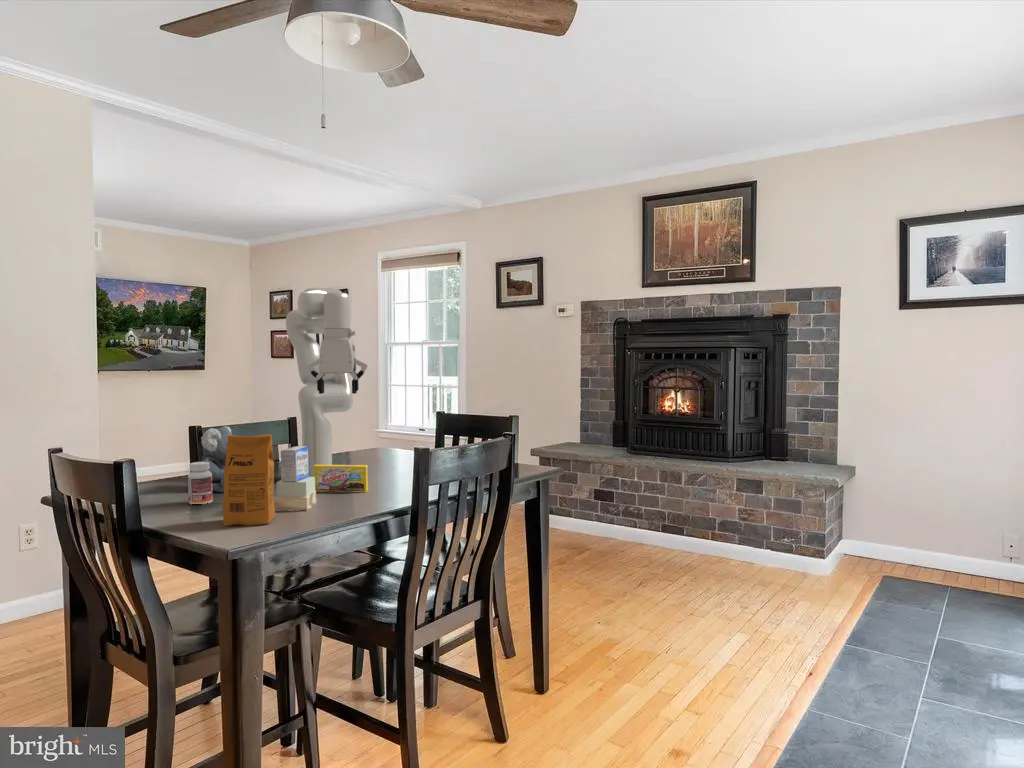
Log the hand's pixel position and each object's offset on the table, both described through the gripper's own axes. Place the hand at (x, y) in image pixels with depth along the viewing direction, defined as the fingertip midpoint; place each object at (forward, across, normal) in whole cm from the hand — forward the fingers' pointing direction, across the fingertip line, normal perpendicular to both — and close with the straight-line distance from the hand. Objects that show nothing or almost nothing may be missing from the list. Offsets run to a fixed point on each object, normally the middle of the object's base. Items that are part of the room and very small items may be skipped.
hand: (338, 393), depth 202 cm
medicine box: (+23, +8, +14) cm, 28 cm away
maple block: (+31, +8, +15) cm, 35 cm away
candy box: (+31, +1, -6) cm, 31 cm away
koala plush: (+31, +41, -13) cm, 53 cm away
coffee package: (+31, +15, +31) cm, 46 cm away
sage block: (+27, +8, +15) cm, 32 cm away
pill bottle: (+31, +37, +9) cm, 49 cm away
